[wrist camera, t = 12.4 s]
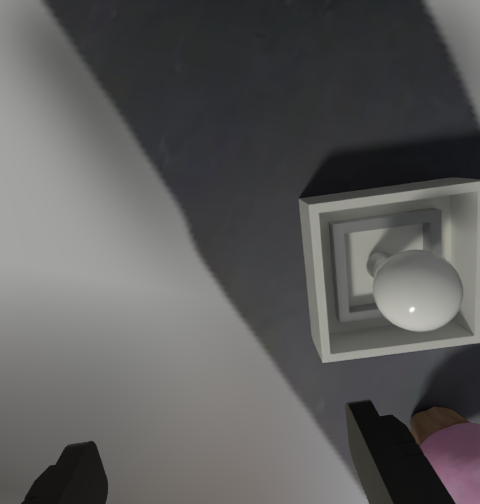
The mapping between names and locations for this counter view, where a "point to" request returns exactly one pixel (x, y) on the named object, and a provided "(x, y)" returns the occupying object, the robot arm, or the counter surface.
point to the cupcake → (451, 451)
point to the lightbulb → (415, 289)
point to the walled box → (392, 242)
